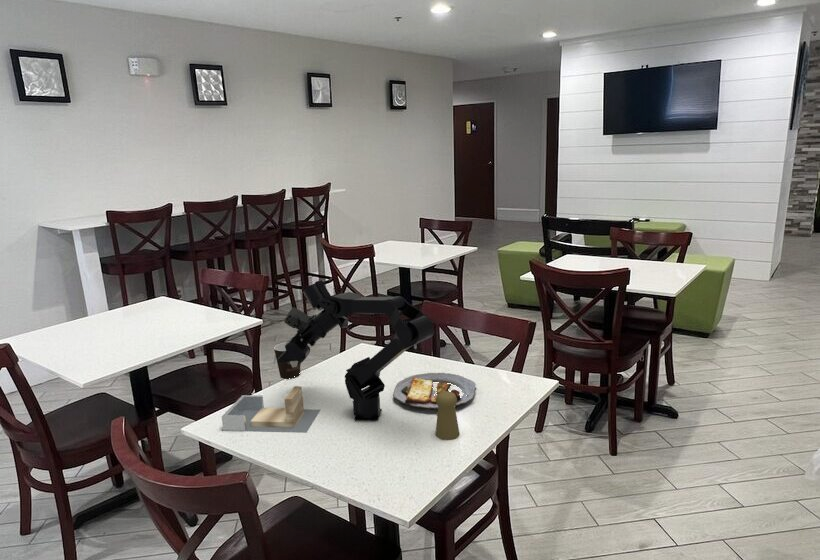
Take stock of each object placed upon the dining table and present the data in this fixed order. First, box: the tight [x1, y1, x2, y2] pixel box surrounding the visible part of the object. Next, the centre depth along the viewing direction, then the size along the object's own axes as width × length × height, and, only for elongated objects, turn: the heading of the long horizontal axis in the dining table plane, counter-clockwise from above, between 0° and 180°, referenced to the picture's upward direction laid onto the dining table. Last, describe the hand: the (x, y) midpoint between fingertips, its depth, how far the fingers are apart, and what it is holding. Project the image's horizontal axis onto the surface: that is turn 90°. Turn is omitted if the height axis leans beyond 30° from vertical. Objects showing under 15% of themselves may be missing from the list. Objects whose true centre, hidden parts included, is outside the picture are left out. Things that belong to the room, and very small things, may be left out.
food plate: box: [392, 372, 477, 410], centre depth 161 cm, size 25×23×4 cm
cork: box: [434, 391, 460, 441], centre depth 137 cm, size 6×6×11 cm
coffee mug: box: [273, 341, 311, 380], centre depth 180 cm, size 12×9×10 cm
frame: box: [221, 394, 265, 432], centre depth 150 cm, size 6×13×4 cm, turn 173°
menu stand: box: [250, 385, 305, 427], centre depth 148 cm, size 12×8×8 cm, turn 83°
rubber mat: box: [221, 408, 321, 434], centre depth 149 cm, size 23×13×1 cm, turn 83°
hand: (283, 354), depth 157 cm, fingers open, 9 cm apart
